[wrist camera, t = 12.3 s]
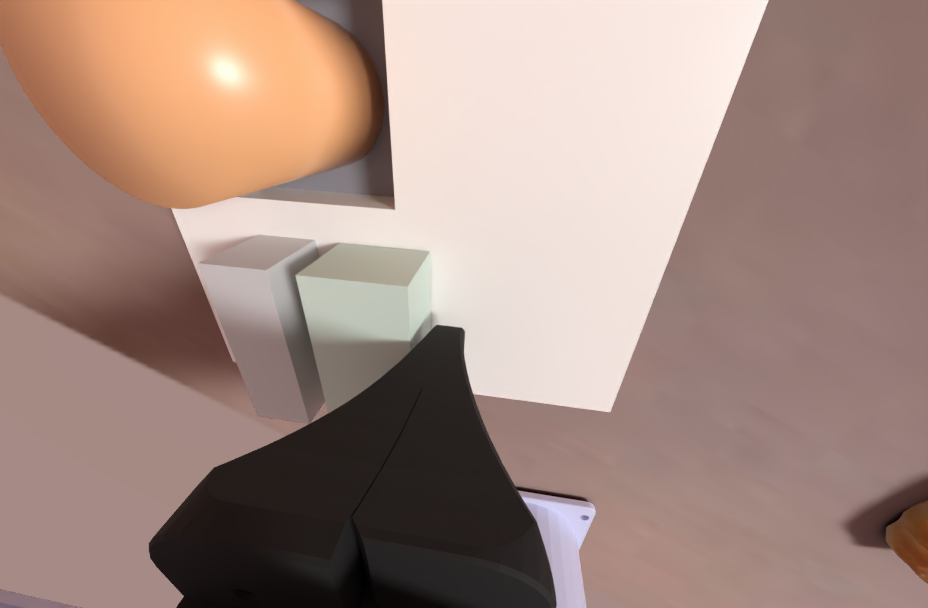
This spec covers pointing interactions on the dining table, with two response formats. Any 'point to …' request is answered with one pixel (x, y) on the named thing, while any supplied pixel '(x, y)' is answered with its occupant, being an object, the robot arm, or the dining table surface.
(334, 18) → the housing
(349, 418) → the robot arm
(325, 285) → the block
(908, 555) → the pastry
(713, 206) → the dining table surface
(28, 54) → the peg
